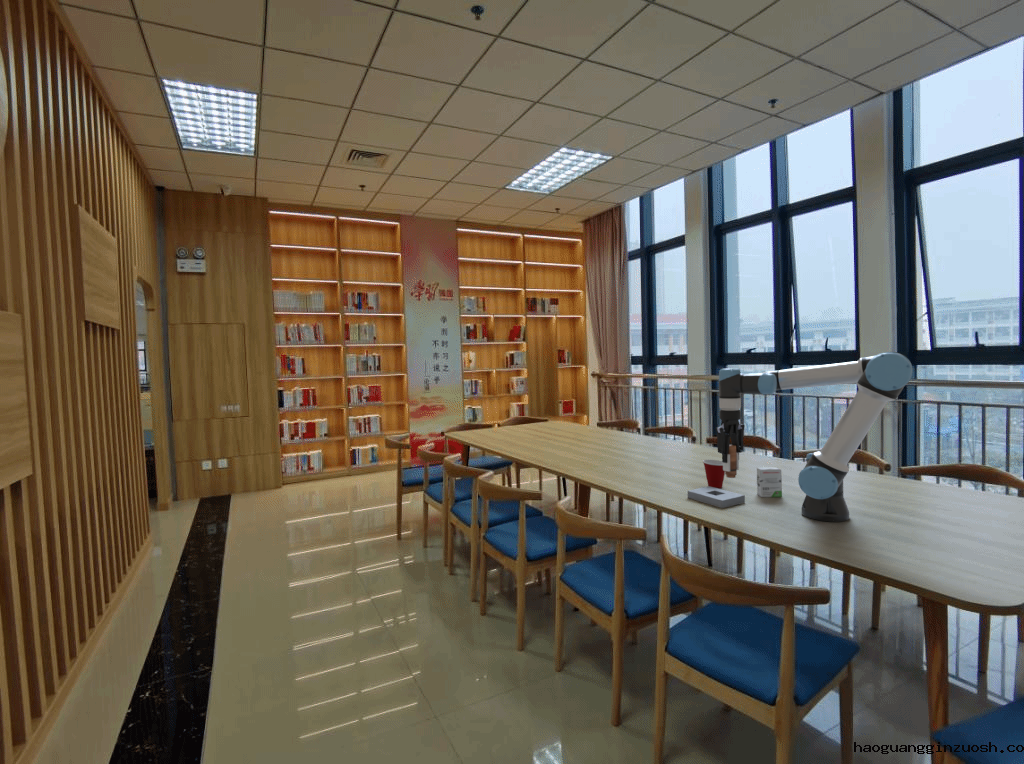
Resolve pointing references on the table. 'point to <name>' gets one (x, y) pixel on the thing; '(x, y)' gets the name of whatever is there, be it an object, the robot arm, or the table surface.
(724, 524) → the table surface
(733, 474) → the peg
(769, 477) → the ink box
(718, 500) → the board
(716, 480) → the plastic cup
